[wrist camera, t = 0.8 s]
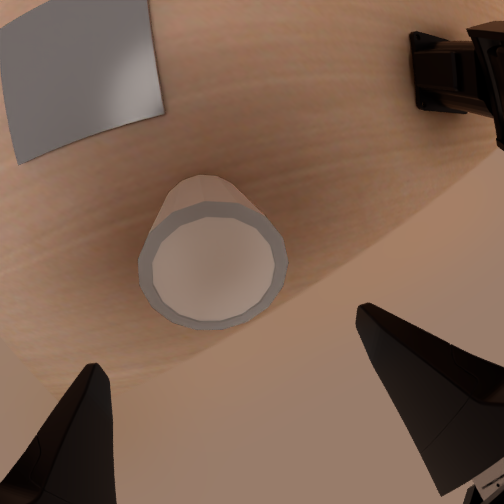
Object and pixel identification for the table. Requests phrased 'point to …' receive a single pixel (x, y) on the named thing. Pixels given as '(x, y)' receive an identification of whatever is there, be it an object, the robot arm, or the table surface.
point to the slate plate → (77, 72)
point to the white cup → (211, 256)
